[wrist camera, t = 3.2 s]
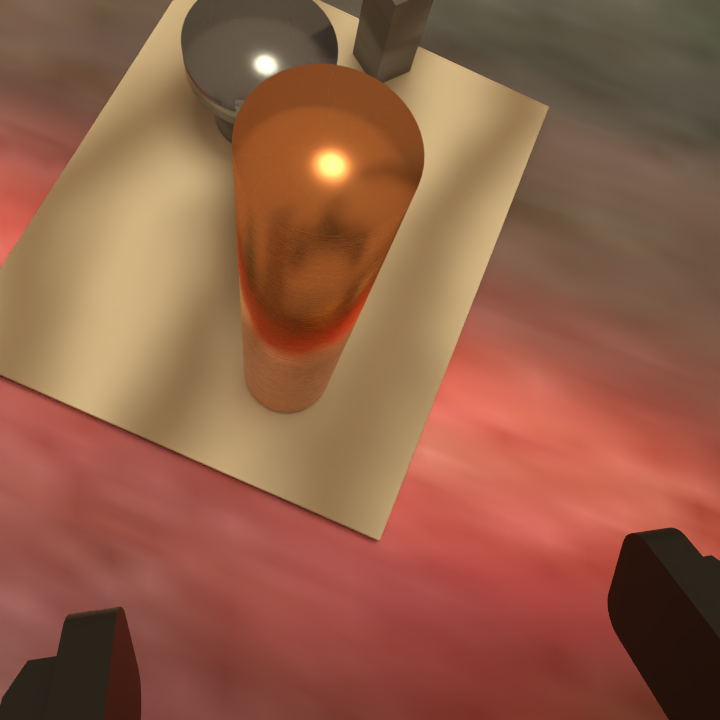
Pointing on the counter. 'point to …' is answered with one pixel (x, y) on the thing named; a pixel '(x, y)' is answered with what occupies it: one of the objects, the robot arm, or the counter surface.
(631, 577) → the robot arm
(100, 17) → the counter surface
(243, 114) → the lever
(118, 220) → the hub board
